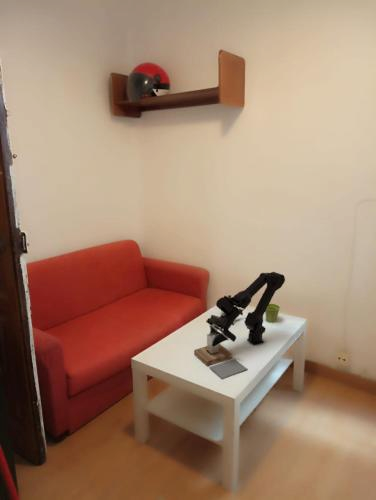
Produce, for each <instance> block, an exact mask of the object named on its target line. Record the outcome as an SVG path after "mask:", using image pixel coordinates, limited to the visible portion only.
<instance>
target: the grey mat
mask: <svg viewBox="0 0 376 500" xmlns="http://www.w3.org/2000/svg"><path fill="white" fill-rule="evenodd" d="M208 367H209V369H210V370H211V371H212V372H213V373H214V374H215V375H216V376H217V377H218V378H220V380H224V379H226V378H229V377H232V376H235V375H238V374H240V373H243V372H246V371H248V368H247V367H245V366H244V365H243V363H241V362H239V361H238V360H237V359H235V358H233V359H232V358H231V359H228V360H225V361H224V362H223V361H222V362H219V363H218V364H217V363H216V364H215V365H214V364H213V365H210V366H208Z"/></svg>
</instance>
